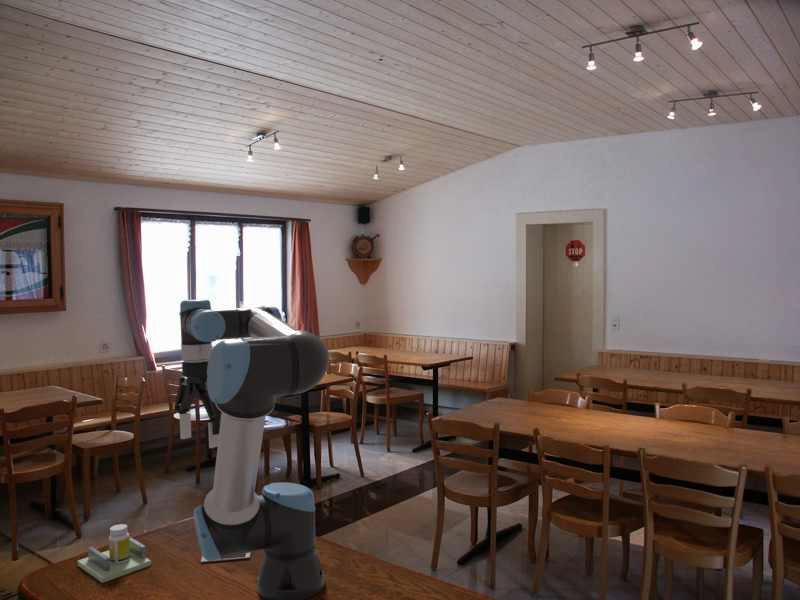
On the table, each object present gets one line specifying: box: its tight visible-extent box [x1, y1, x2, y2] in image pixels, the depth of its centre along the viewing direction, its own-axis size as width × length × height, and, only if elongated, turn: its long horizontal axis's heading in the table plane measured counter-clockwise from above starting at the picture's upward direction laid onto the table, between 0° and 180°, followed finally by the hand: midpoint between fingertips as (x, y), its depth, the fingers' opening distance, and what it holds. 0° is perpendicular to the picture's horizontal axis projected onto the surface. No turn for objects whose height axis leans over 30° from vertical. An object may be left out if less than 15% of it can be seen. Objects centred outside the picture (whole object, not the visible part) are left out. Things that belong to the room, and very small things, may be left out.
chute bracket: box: [87, 536, 147, 572], centre depth 165 cm, size 10×10×3 cm
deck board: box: [77, 549, 152, 584], centre depth 164 cm, size 14×12×1 cm
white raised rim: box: [200, 552, 252, 563], centre depth 171 cm, size 12×12×5 cm
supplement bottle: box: [108, 523, 131, 564], centre depth 164 cm, size 5×5×8 cm
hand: (199, 442), depth 170 cm, fingers open, 13 cm apart
